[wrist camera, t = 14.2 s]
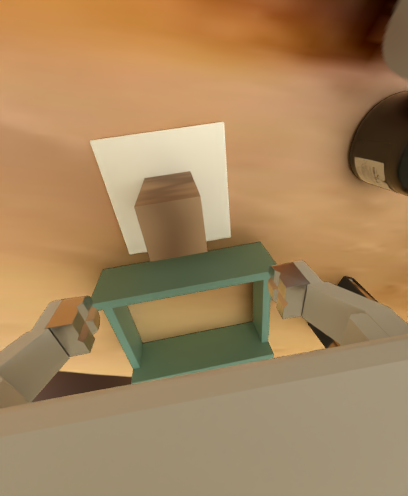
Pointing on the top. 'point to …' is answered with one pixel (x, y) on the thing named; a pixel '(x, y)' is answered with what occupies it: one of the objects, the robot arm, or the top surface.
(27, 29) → the top surface
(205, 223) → the board
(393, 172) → the ink bottle
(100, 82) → the top surface
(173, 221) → the walnut block
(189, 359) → the box
